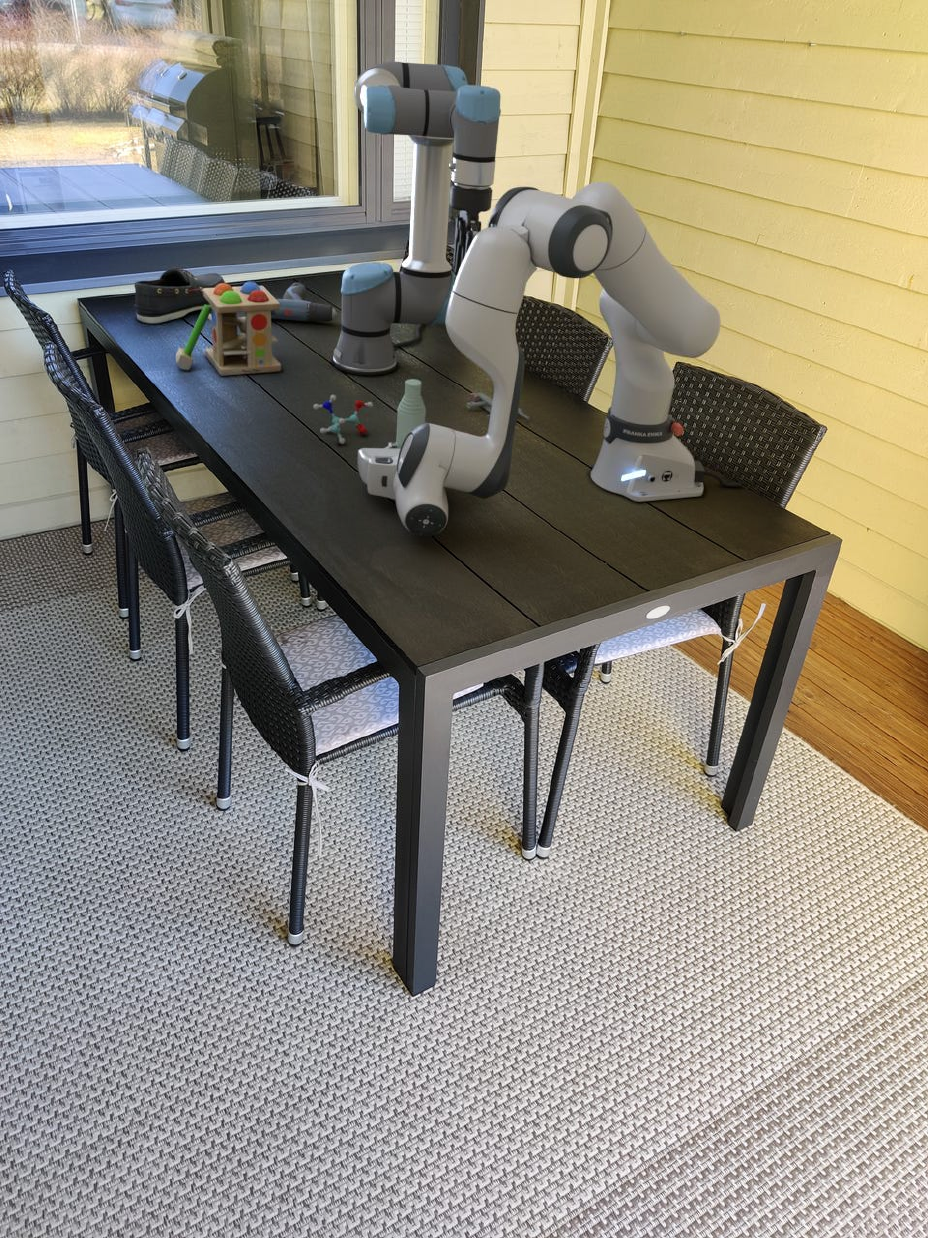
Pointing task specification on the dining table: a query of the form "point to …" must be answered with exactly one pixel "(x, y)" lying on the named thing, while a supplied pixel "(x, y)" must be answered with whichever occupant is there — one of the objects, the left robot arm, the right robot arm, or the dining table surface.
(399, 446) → the bottle
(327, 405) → the molecular model
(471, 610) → the dining table surface
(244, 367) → the pounding bench toy
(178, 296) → the boat shoe
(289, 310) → the power drill
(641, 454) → the right robot arm
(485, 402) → the clamp
